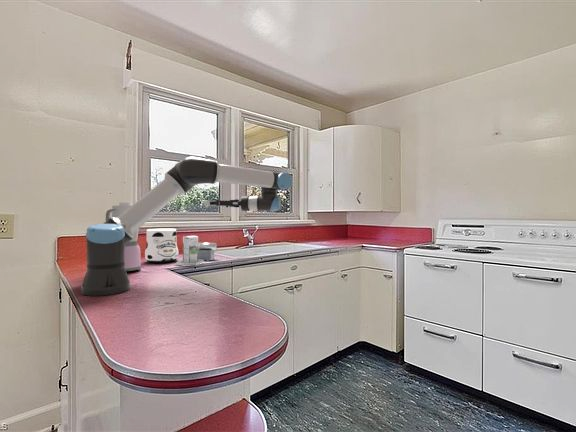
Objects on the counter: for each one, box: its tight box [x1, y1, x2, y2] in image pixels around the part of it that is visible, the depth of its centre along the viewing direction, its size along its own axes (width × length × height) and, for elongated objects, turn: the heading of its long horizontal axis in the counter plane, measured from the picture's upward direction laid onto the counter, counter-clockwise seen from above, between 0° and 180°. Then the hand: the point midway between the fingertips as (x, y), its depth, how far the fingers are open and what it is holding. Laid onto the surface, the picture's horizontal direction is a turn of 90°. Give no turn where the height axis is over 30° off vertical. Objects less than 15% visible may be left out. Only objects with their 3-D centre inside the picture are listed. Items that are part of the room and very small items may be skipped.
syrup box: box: [182, 235, 199, 263], centre depth 168 cm, size 6×6×14 cm
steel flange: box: [175, 259, 205, 267], centre depth 168 cm, size 12×12×2 cm
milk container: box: [144, 228, 179, 264], centre depth 176 cm, size 17×17×18 cm
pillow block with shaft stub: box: [198, 242, 218, 261], centre depth 182 cm, size 6×12×10 cm, turn 84°
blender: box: [105, 202, 142, 272], centre depth 147 cm, size 16×12×32 cm
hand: (208, 203), depth 162 cm, fingers open, 13 cm apart
